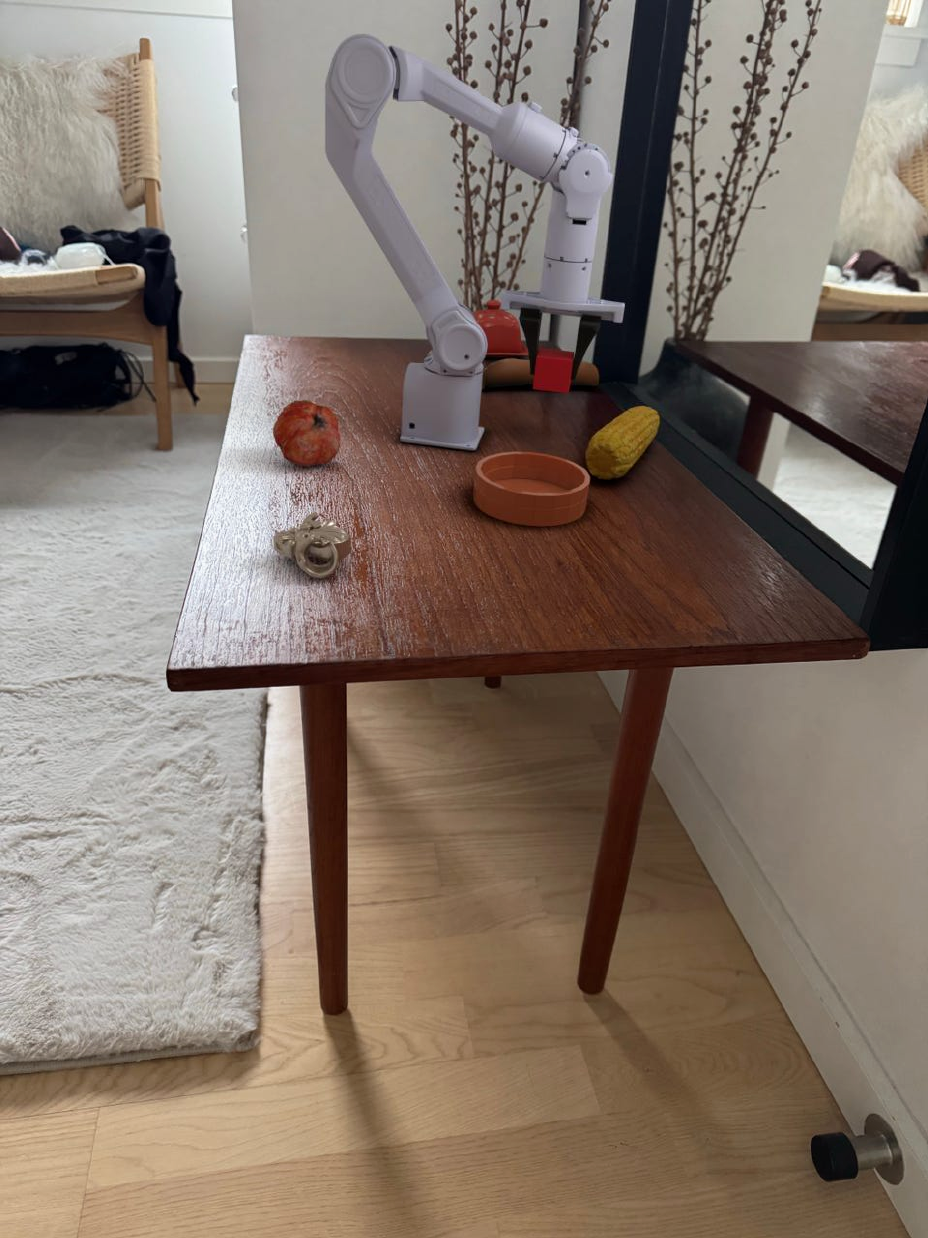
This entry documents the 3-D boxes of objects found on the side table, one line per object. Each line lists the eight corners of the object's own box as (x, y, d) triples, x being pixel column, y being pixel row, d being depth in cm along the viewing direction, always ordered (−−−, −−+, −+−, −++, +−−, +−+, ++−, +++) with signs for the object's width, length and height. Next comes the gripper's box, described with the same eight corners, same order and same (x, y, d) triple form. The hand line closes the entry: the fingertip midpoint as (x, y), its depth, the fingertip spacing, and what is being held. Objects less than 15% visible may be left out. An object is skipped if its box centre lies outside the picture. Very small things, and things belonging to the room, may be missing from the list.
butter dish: (463, 361, 144) (467, 306, 139) (450, 342, 153) (453, 291, 149) (531, 362, 146) (537, 308, 142) (514, 344, 156) (519, 293, 151)
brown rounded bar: (579, 372, 141) (592, 341, 135) (589, 407, 138) (603, 376, 132) (469, 372, 136) (478, 340, 130) (477, 408, 133) (487, 376, 127)
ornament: (278, 539, 84) (277, 504, 82) (351, 542, 85) (351, 507, 83) (269, 580, 77) (267, 543, 76) (348, 582, 78) (348, 545, 76)
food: (623, 492, 101) (632, 442, 98) (576, 481, 103) (583, 432, 99) (662, 438, 118) (671, 394, 115) (621, 430, 119) (628, 386, 116)
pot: (464, 517, 92) (467, 485, 90) (482, 474, 102) (484, 445, 100) (582, 533, 91) (587, 501, 89) (587, 488, 101) (592, 459, 99)
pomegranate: (266, 477, 103) (284, 451, 94) (263, 416, 103) (280, 384, 94) (329, 479, 106) (352, 454, 97) (325, 419, 106) (348, 389, 97)
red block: (532, 389, 109) (536, 356, 107) (535, 379, 113) (539, 347, 110) (568, 393, 108) (572, 360, 106) (570, 383, 112) (574, 351, 110)
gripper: (630, 259, 105) (612, 373, 112) (510, 246, 107) (499, 360, 114) (631, 269, 99) (611, 388, 106) (503, 255, 101) (492, 374, 108)
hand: (553, 375), depth 110 cm, fingers closed on red block, 4 cm apart
